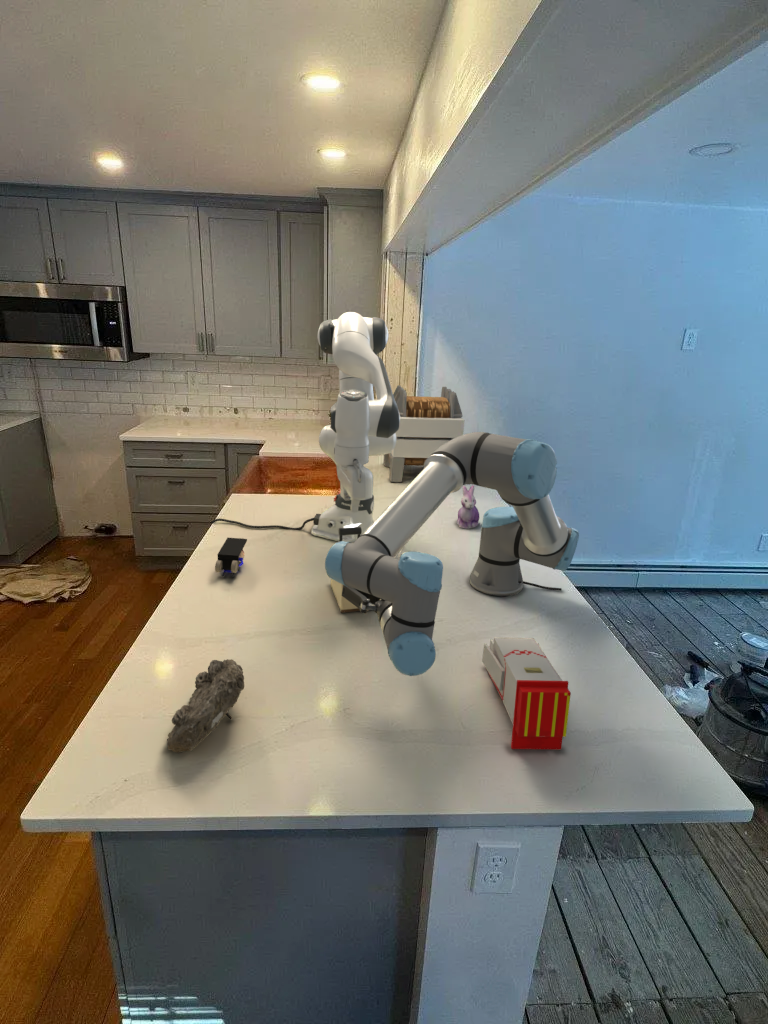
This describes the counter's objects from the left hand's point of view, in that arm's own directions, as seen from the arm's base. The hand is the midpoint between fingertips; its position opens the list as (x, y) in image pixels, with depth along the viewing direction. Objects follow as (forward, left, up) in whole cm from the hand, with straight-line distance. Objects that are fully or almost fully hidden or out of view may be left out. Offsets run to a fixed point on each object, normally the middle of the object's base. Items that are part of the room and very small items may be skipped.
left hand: (350, 505), depth 151 cm
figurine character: (-36, -1, -25) cm, 44 cm away
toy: (+49, -34, -25) cm, 65 cm away
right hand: (+17, -24, -8) cm, 31 cm away
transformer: (-7, +125, -25) cm, 128 cm away
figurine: (+25, +64, -25) cm, 73 cm away
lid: (+2, -4, -16) cm, 16 cm away
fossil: (-7, -58, -25) cm, 64 cm away
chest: (+3, -4, -25) cm, 25 cm away
